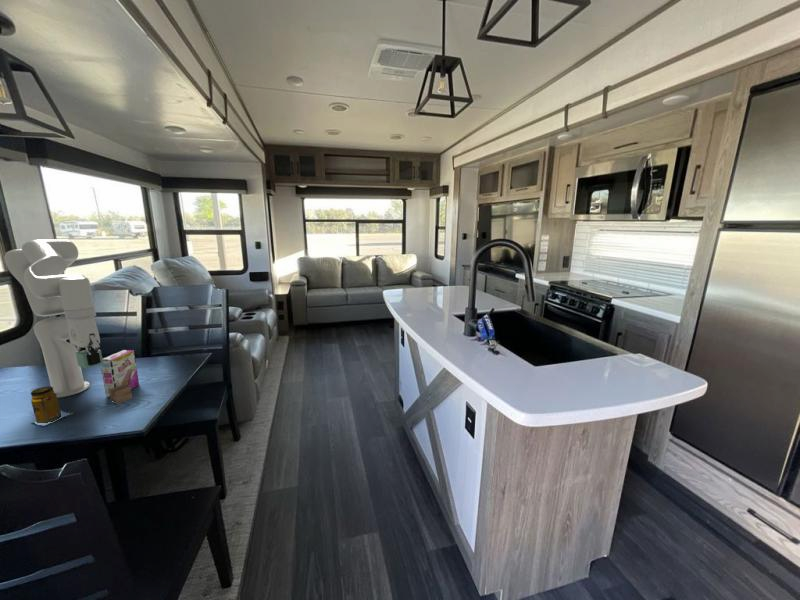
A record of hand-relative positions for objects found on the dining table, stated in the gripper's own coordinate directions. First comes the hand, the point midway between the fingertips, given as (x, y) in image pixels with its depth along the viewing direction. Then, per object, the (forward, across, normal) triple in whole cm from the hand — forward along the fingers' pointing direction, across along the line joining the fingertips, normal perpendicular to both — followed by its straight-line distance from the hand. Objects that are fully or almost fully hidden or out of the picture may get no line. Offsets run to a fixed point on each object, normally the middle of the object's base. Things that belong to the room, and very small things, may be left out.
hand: (90, 362), depth 114 cm
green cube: (+1, 0, 0) cm, 1 cm away
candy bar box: (+21, -13, +13) cm, 28 cm away
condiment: (+21, -12, -9) cm, 26 cm away
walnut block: (+21, -6, +9) cm, 24 cm away
